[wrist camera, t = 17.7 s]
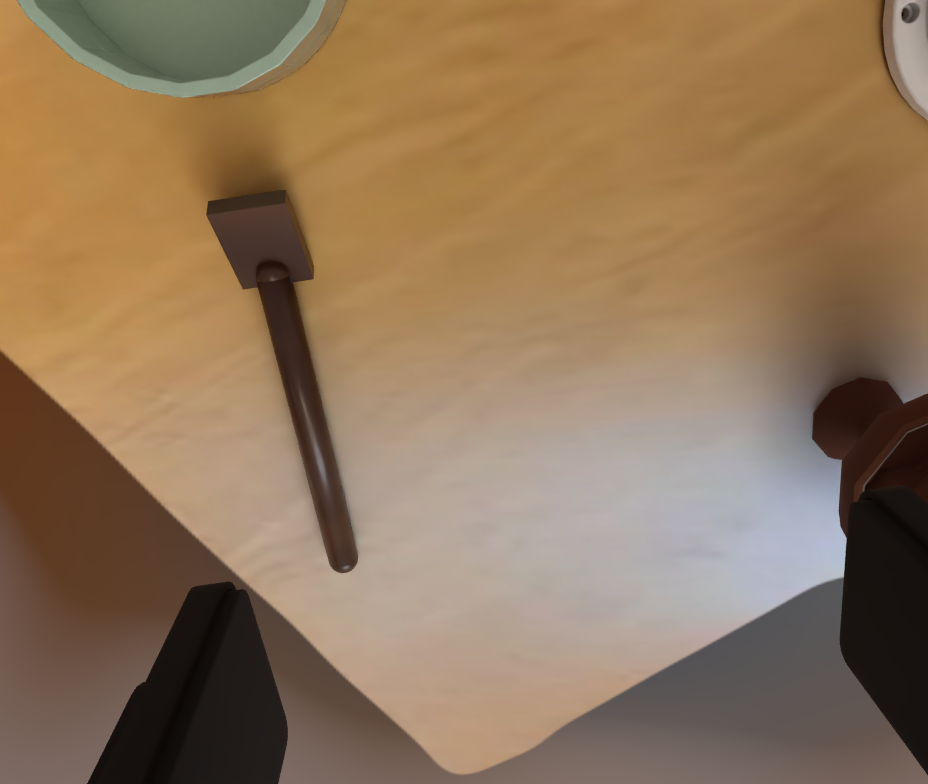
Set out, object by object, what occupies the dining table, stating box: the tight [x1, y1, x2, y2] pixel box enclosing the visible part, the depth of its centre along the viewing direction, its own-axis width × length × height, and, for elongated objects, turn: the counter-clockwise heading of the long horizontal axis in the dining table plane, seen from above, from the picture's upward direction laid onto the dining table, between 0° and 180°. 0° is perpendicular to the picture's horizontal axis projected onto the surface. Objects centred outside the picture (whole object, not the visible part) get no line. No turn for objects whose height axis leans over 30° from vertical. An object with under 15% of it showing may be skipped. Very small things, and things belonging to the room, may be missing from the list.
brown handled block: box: [206, 190, 358, 573], centre depth 40 cm, size 21×4×11 cm
